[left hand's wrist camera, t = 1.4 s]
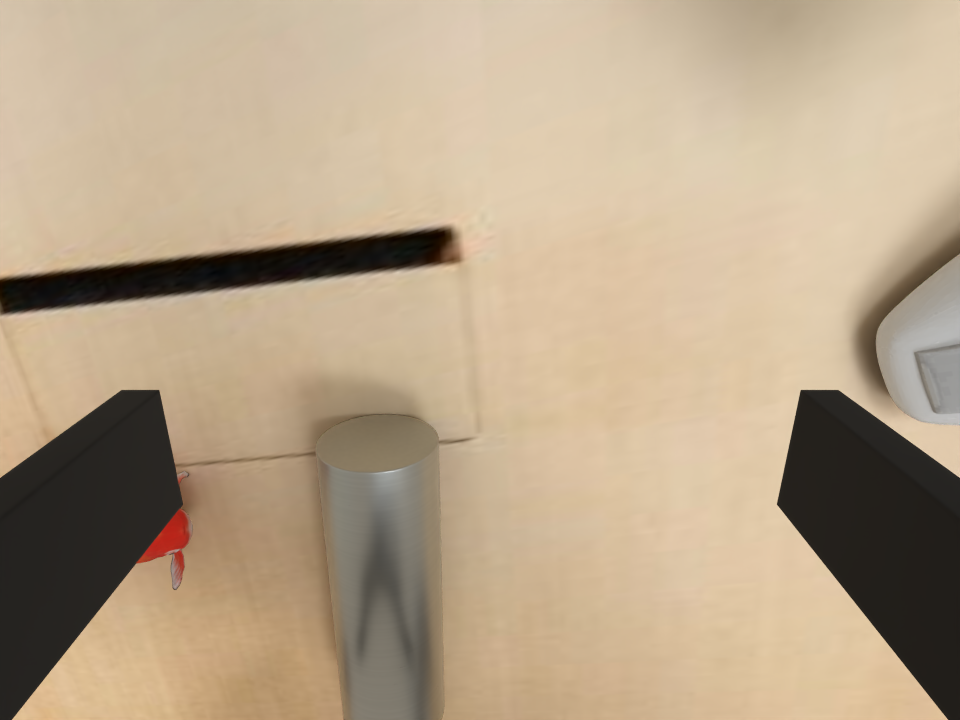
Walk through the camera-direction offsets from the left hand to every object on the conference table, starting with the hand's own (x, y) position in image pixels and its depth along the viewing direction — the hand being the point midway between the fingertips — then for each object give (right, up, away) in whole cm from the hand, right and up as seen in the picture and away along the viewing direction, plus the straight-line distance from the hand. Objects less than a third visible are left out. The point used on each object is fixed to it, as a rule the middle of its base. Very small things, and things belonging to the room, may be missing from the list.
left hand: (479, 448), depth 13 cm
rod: (-7, -14, +36) cm, 39 cm away
